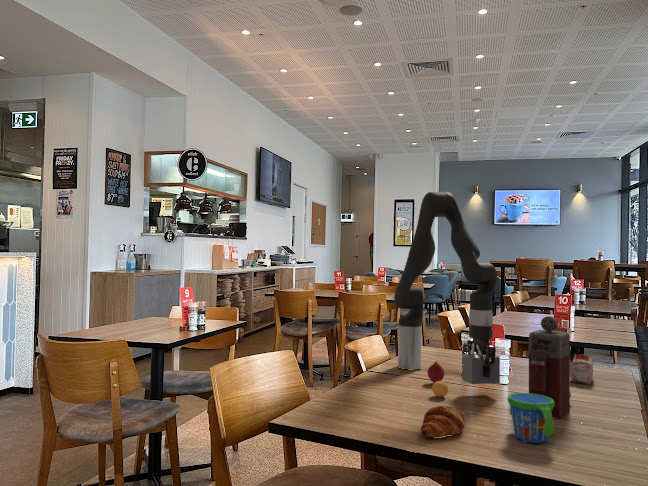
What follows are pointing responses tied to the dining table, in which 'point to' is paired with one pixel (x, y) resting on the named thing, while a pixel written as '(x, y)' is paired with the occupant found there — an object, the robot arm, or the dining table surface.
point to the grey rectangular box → (479, 370)
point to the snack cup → (531, 416)
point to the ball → (439, 389)
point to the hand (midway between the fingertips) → (480, 374)
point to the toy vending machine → (550, 365)
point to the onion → (435, 372)
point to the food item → (581, 369)
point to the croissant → (442, 422)
